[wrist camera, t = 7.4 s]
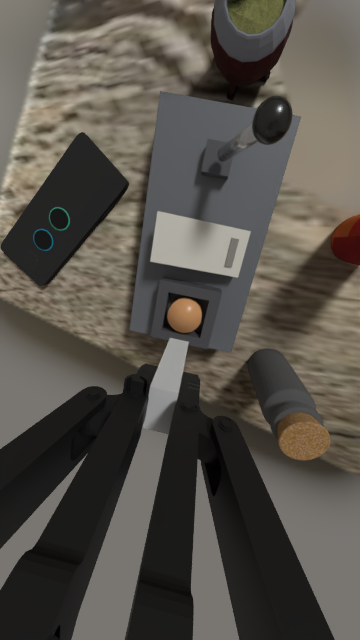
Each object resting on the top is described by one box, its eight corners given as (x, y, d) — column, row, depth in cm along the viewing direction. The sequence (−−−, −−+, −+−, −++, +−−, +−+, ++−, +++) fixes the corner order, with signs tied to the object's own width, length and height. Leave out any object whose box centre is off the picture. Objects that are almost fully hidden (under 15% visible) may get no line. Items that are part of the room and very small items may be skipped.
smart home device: (-4, 246, 34) (79, 127, 28) (6, 246, 36) (86, 133, 30) (41, 288, 35) (128, 183, 29) (48, 286, 37) (132, 186, 31)
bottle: (248, 382, 38) (274, 465, 24) (246, 349, 36) (272, 419, 22) (286, 379, 37) (335, 464, 23) (285, 346, 35) (339, 416, 21)
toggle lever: (235, 144, 22) (306, 96, 14) (228, 173, 23) (292, 143, 15) (212, 136, 22) (273, 80, 13) (206, 166, 23) (260, 131, 14)
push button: (205, 299, 29) (205, 304, 26) (198, 328, 30) (197, 336, 28) (173, 292, 29) (170, 296, 27) (167, 322, 30) (164, 328, 28)
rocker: (246, 231, 26) (251, 231, 25) (234, 275, 28) (238, 278, 26) (157, 211, 24) (157, 210, 23) (150, 260, 26) (150, 261, 25)
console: (284, 138, 27) (312, 102, 20) (227, 338, 36) (233, 361, 29) (167, 116, 28) (155, 74, 21) (139, 318, 36) (123, 337, 29)
